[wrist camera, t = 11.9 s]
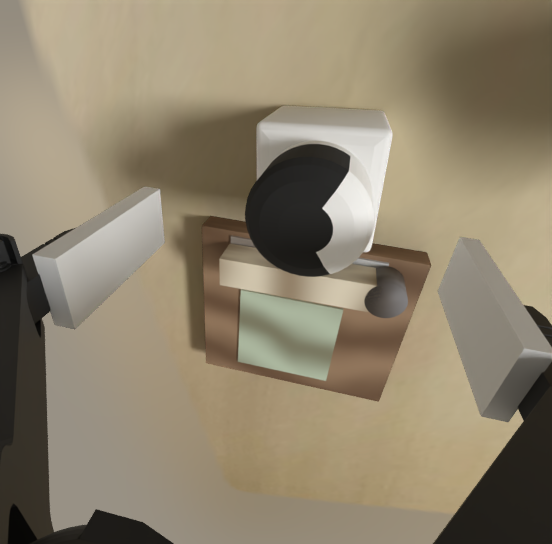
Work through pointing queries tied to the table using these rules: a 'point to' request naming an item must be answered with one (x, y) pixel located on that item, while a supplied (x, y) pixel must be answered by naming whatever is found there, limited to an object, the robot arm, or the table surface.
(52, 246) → the robot arm
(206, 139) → the table surface
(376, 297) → the folding leg
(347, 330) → the brown wooden board
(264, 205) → the medicine bottle
